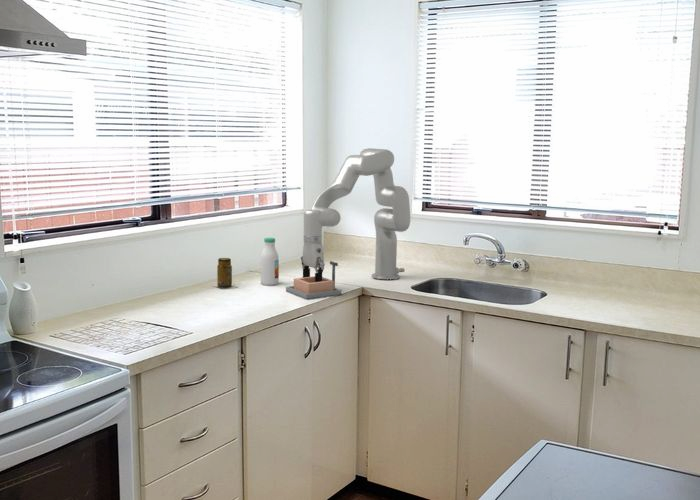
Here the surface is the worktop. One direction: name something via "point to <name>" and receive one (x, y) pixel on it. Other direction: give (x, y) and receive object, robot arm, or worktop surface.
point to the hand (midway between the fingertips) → (312, 279)
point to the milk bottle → (269, 263)
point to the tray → (313, 295)
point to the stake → (333, 270)
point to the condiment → (224, 274)
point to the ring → (313, 285)
